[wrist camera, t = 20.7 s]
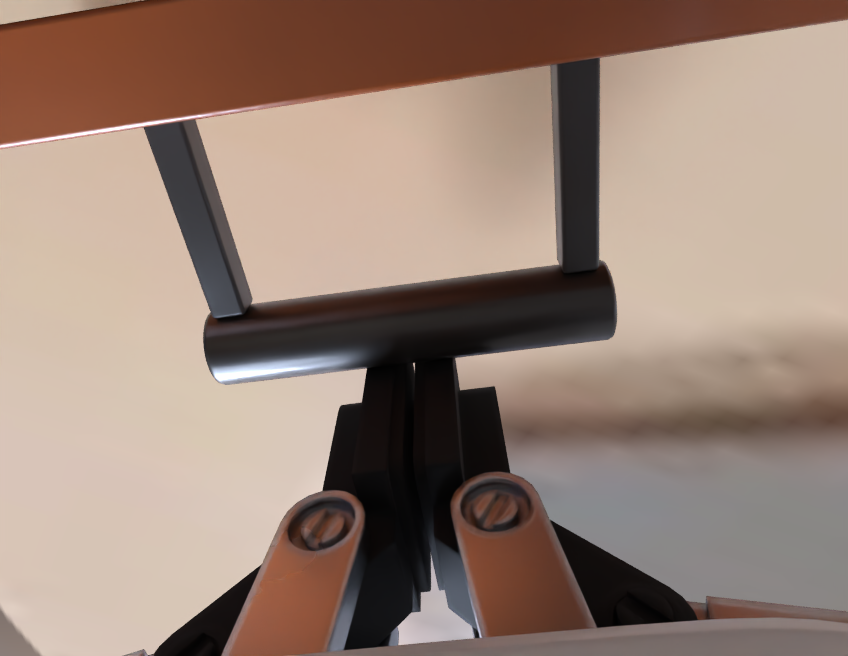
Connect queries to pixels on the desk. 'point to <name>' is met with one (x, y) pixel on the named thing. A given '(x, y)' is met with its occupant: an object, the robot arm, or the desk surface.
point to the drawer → (345, 76)
